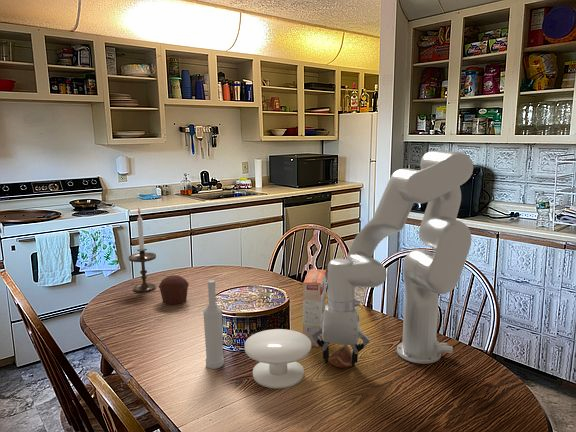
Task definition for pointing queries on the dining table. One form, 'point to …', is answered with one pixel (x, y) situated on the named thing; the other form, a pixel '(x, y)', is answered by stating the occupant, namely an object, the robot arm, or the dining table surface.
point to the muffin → (174, 290)
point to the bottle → (213, 330)
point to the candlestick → (142, 260)
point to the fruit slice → (341, 357)
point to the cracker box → (314, 303)
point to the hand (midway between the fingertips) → (340, 362)
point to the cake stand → (278, 357)
